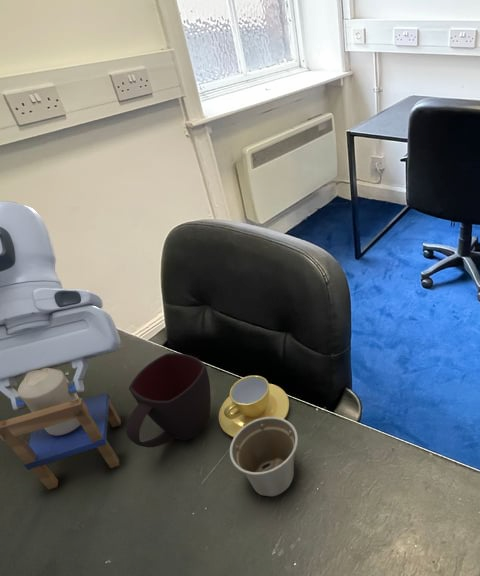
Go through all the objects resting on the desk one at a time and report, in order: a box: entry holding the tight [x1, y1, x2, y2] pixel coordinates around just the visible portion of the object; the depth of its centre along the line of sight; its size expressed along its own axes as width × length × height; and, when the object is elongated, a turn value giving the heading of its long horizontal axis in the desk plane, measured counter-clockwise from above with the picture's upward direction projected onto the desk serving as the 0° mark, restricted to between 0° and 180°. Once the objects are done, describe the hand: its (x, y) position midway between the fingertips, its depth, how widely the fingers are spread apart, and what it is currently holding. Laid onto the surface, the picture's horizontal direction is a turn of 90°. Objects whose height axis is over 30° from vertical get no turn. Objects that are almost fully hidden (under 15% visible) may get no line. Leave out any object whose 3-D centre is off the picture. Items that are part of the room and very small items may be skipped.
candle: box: [17, 367, 81, 435], centre depth 64 cm, size 6×6×10 cm
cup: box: [218, 374, 290, 438], centre depth 75 cm, size 12×12×5 cm
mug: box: [125, 352, 212, 448], centre depth 70 cm, size 10×14×12 cm
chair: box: [0, 391, 122, 490], centre depth 67 cm, size 10×10×15 cm
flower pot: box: [229, 417, 299, 497], centre depth 65 cm, size 9×9×9 cm
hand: (50, 400), depth 64 cm, fingers closed on candle, 5 cm apart
